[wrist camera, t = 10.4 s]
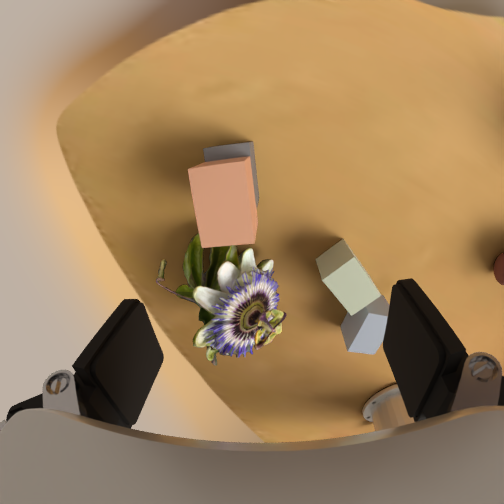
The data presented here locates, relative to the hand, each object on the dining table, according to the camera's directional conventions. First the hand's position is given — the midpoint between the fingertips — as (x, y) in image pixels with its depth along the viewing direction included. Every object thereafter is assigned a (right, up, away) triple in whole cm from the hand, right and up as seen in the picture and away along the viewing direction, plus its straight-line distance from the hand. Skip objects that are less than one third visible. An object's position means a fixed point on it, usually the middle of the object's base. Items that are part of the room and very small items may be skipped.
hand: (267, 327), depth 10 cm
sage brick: (+10, +1, +22) cm, 24 cm away
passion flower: (-3, -1, +24) cm, 24 cm away
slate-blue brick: (+14, -5, +24) cm, 29 cm away
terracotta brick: (-2, +8, +14) cm, 16 cm away
